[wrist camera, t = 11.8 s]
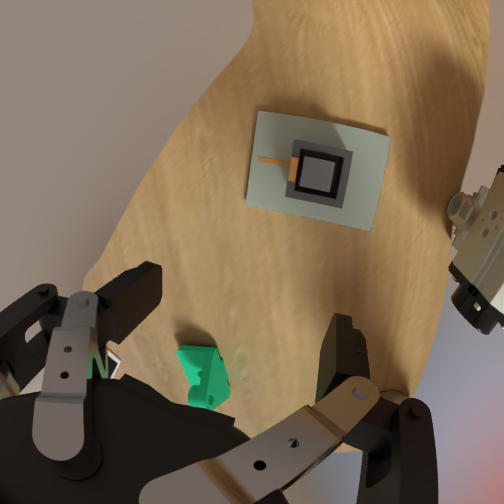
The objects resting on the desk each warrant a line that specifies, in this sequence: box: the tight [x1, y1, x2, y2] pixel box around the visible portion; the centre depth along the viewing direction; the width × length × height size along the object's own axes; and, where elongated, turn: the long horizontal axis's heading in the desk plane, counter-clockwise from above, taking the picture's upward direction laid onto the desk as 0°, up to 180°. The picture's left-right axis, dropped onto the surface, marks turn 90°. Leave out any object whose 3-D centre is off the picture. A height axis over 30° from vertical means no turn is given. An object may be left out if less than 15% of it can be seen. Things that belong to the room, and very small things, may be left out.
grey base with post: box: [246, 111, 391, 232], centre depth 28 cm, size 16×12×7 cm
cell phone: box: [108, 348, 121, 379], centre depth 59 cm, size 9×18×1 cm, turn 144°
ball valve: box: [447, 165, 504, 335], centre depth 20 cm, size 18×8×18 cm, turn 157°
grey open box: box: [285, 140, 353, 209], centre depth 28 cm, size 6×6×5 cm
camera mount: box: [177, 345, 231, 410], centre depth 44 cm, size 12×8×10 cm, turn 9°
